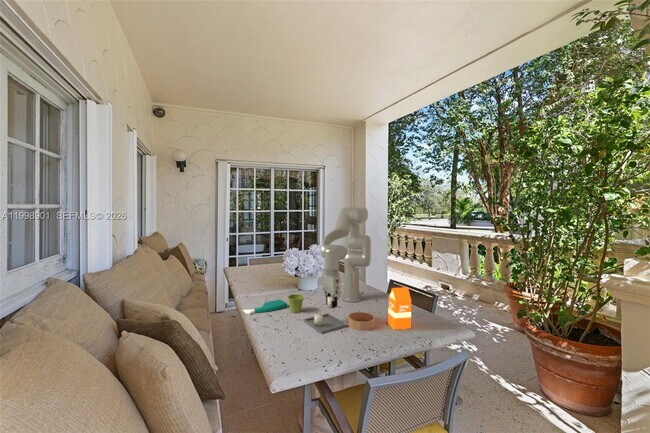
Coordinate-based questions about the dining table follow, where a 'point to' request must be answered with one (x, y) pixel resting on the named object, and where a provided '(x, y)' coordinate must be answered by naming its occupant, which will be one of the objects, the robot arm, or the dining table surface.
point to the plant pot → (295, 302)
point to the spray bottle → (268, 307)
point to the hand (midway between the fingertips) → (331, 305)
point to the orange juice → (399, 308)
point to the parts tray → (326, 323)
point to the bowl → (361, 321)
